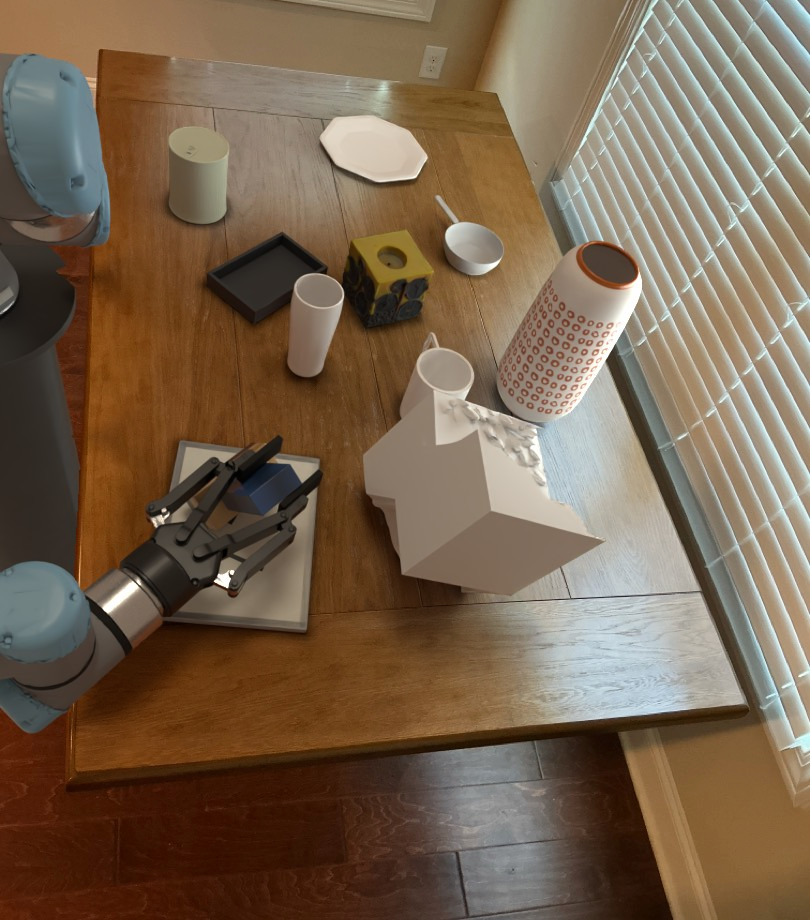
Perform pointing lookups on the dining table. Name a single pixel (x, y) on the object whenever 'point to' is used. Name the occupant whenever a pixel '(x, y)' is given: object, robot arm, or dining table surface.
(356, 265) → the candle
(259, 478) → the blue block with base
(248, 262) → the tray
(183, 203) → the can
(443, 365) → the cup
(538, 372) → the patterned vase
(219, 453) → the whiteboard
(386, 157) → the plate
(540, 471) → the tissue box
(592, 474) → the dining table surface
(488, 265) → the small pan
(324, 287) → the drinking glass
